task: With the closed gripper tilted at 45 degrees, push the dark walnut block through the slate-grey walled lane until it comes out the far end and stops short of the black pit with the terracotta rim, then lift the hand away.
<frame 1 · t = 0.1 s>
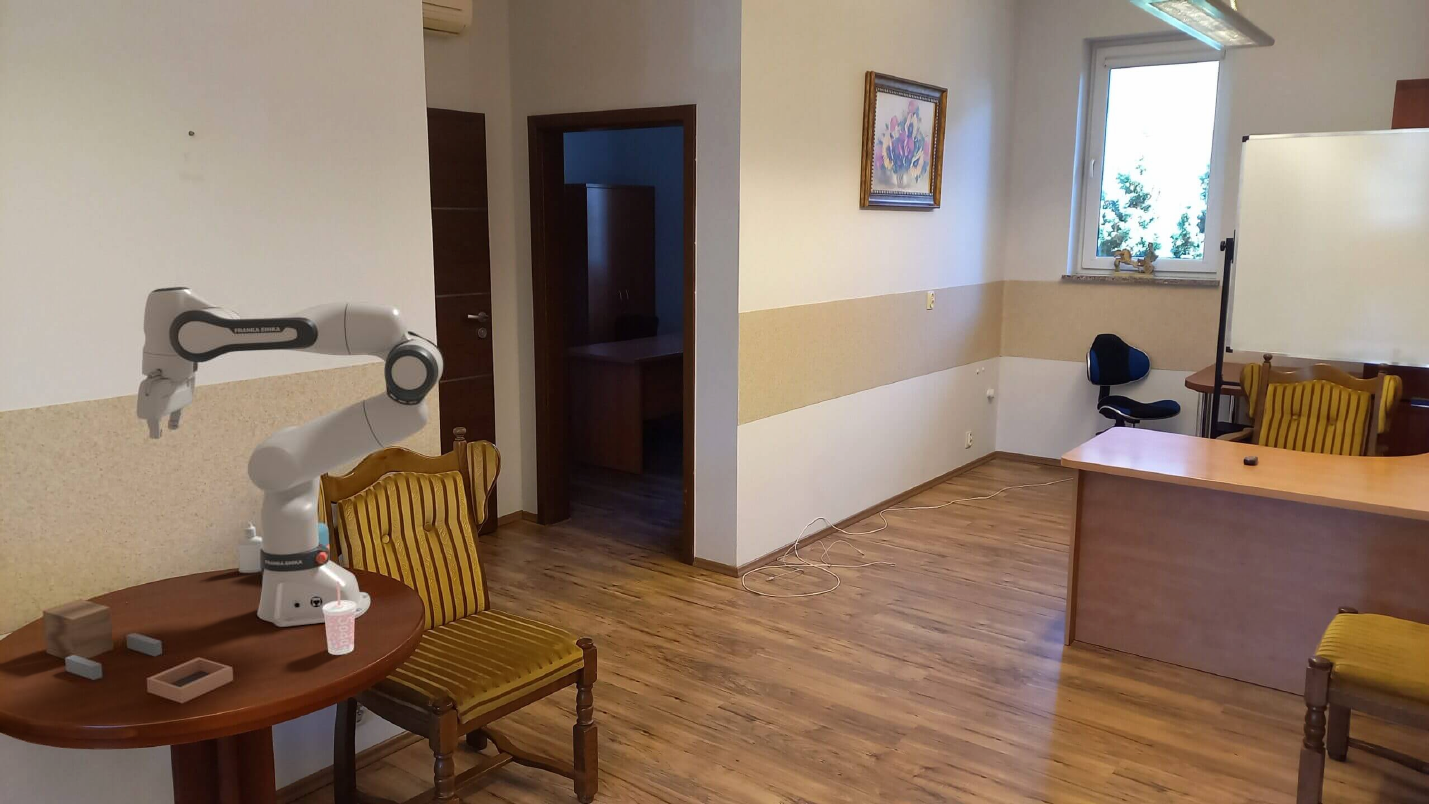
hand: (164, 433, 197), 39 cm above the table, tool pointing down, fingers open, 8 cm apart
walnut block: (80, 651, 185), on the table
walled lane: (115, 661, 181), on the table
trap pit: (191, 686, 172), on the table
data package: (303, 572, 231), on the table
beverage cup: (341, 650, 189), on the table
eye dropper bottle: (252, 571, 231), on the table
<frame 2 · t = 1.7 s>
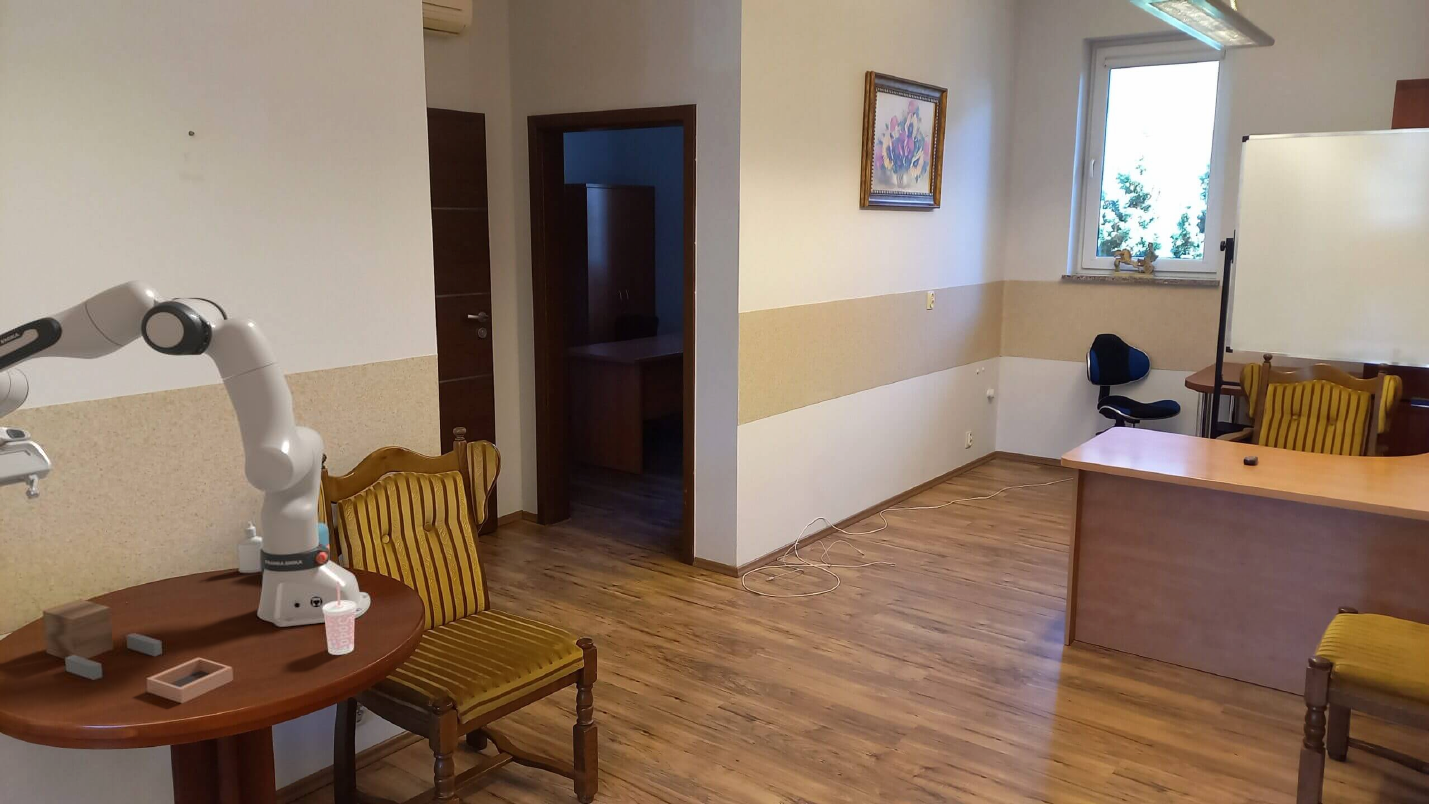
hand: (9, 502, 189), 27 cm above the table, tool tilted 45°, fingers open, 8 cm apart
nothing on the table moved.
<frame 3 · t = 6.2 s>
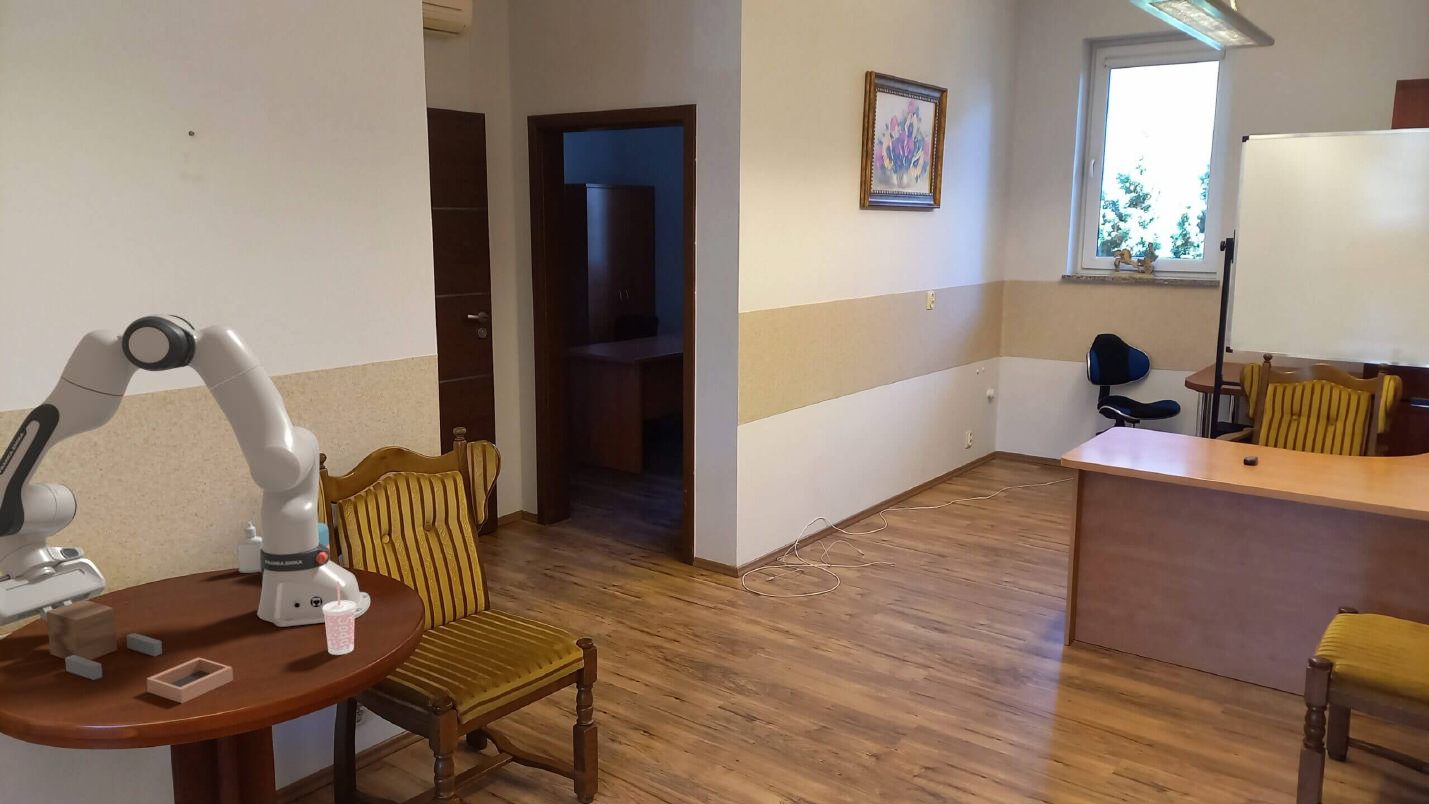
hand: (66, 625, 186), 4 cm above the table, tool tilted 45°, fingers closed, pressing on walnut block
walnut block: (84, 652, 185), on the table, touching gripper
everything else where it was.
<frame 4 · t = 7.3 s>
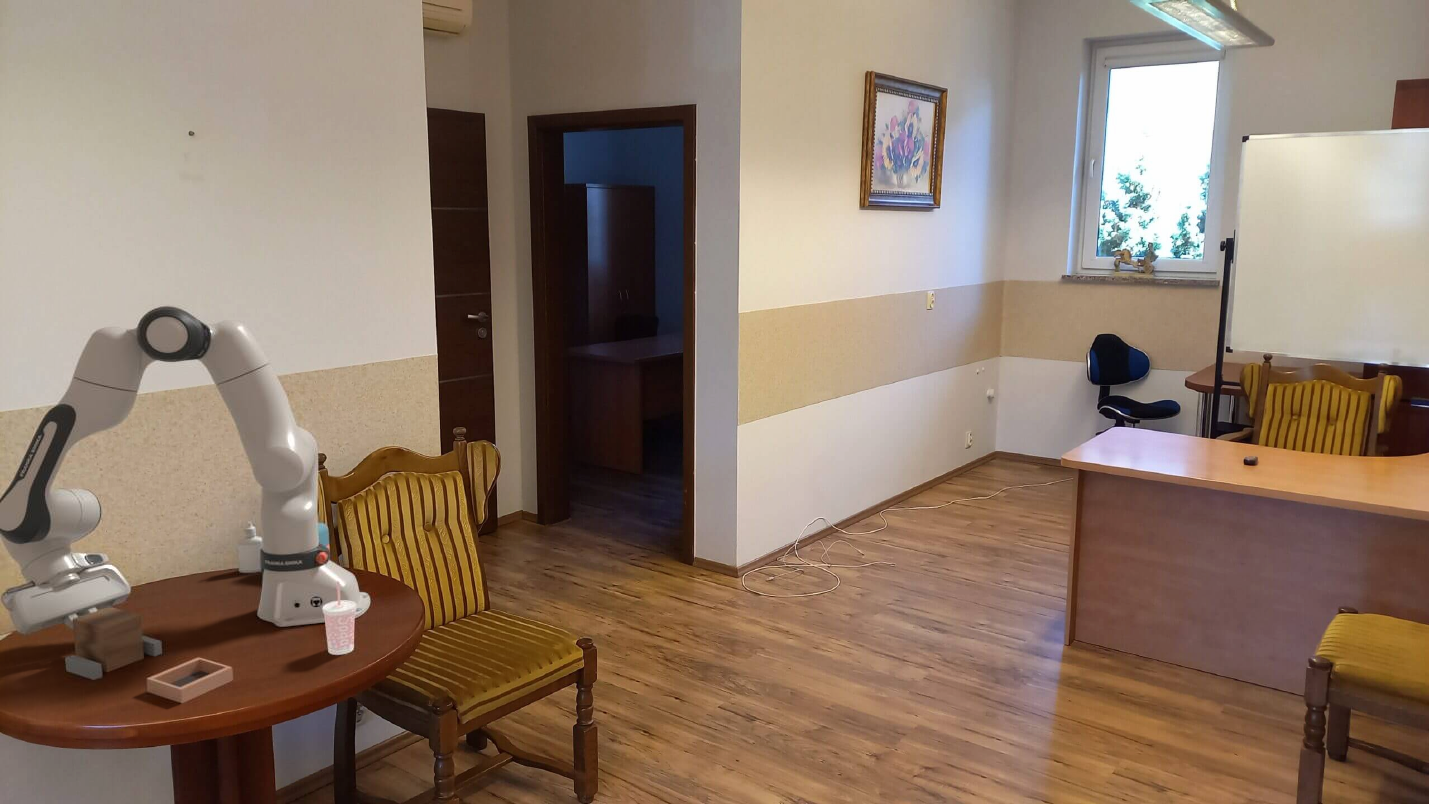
hand: (91, 633, 183), 4 cm above the table, tool tilted 45°, fingers closed, pressing on walnut block
walnut block: (110, 660, 182), on the table, touching gripper
everything else where it was.
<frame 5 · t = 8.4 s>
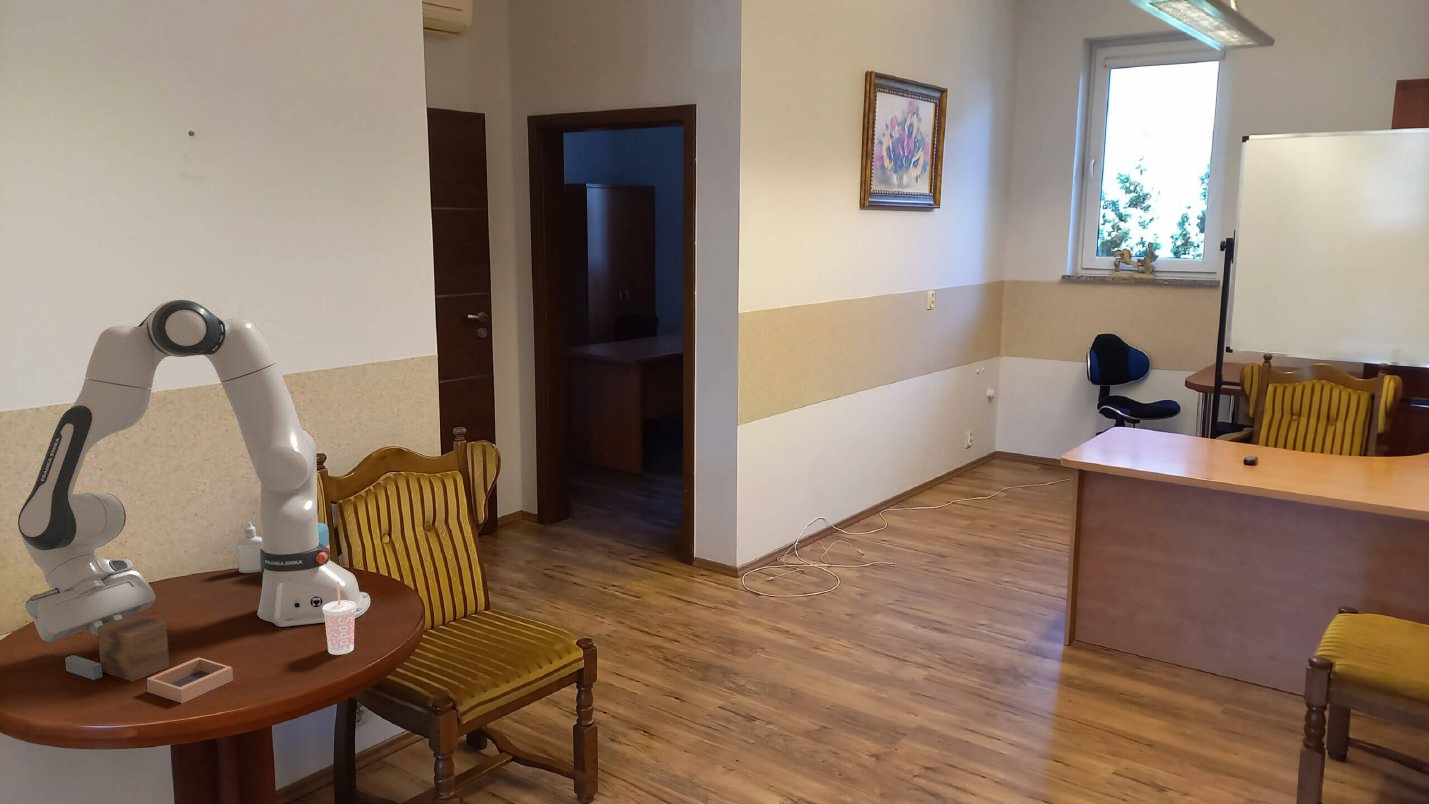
hand: (116, 641, 180), 4 cm above the table, tool tilted 45°, fingers closed, pressing on walnut block
walnut block: (135, 669, 178), on the table, touching gripper
everything else where it was.
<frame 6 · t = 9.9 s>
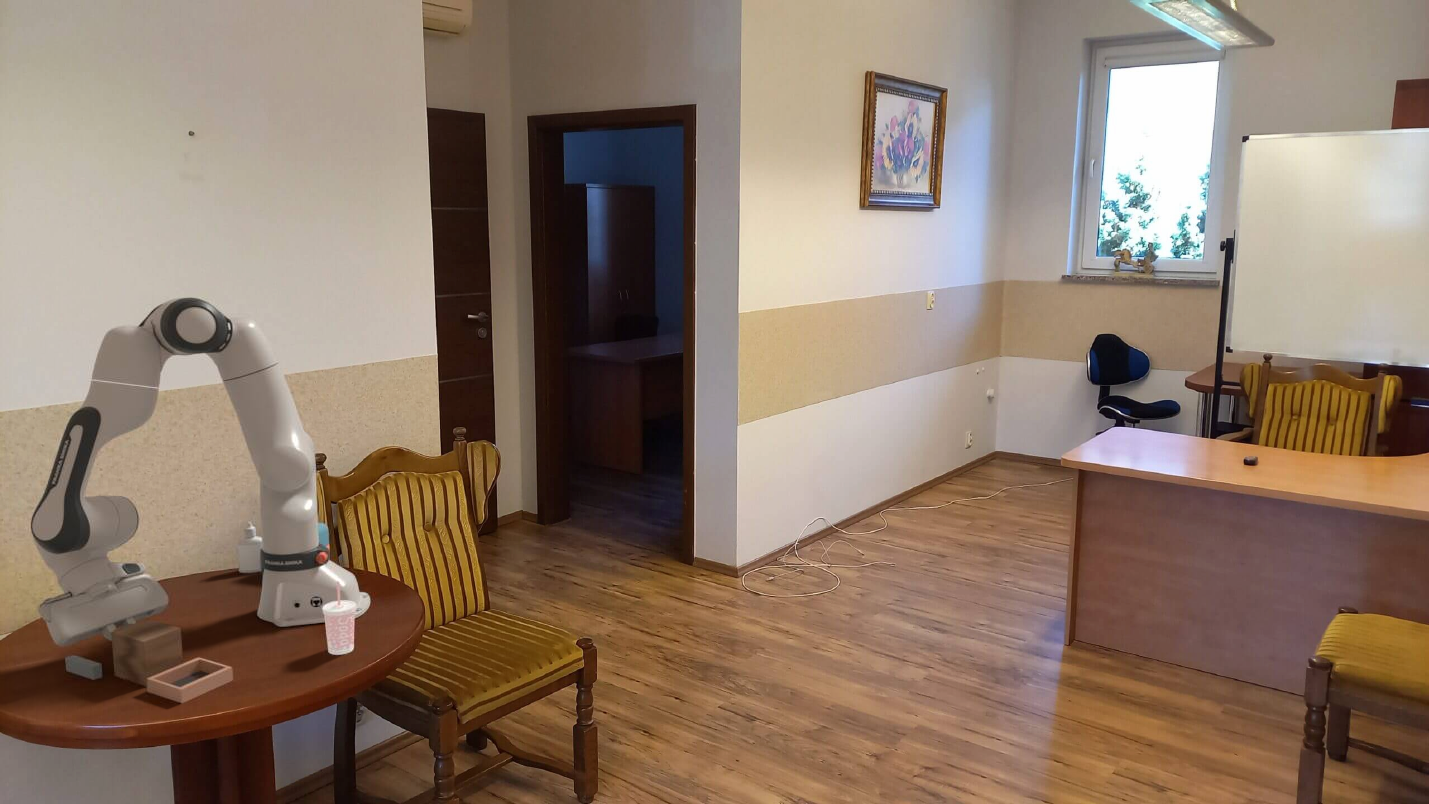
hand: (130, 645, 178), 4 cm above the table, tool tilted 45°, fingers closed, pressing on walnut block
walnut block: (149, 674, 177), on the table, touching gripper
everything else where it was.
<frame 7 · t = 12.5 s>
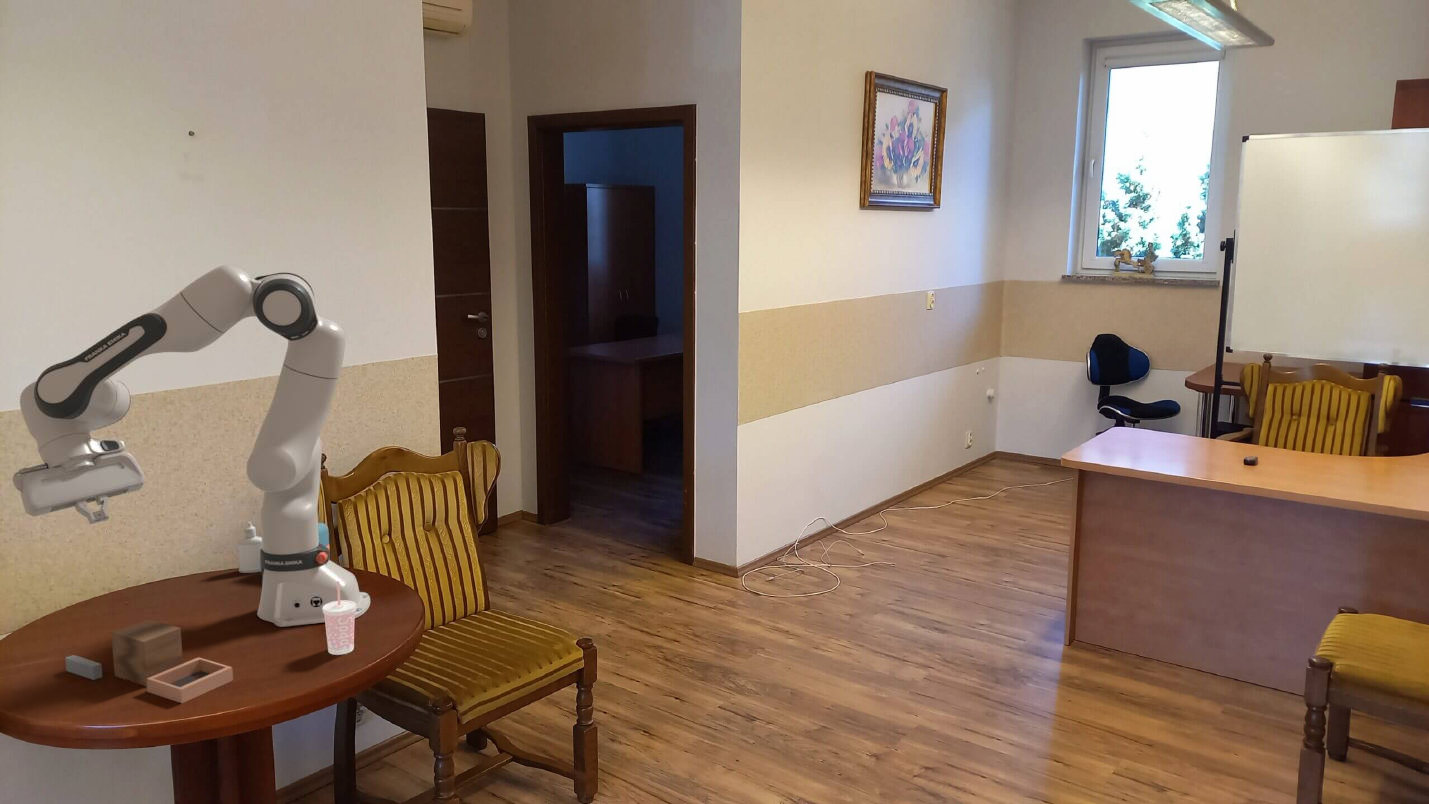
hand: (100, 521, 184), 25 cm above the table, tool tilted 35°, fingers closed
walnut block: (149, 674, 177), on the table
everything else where it was.
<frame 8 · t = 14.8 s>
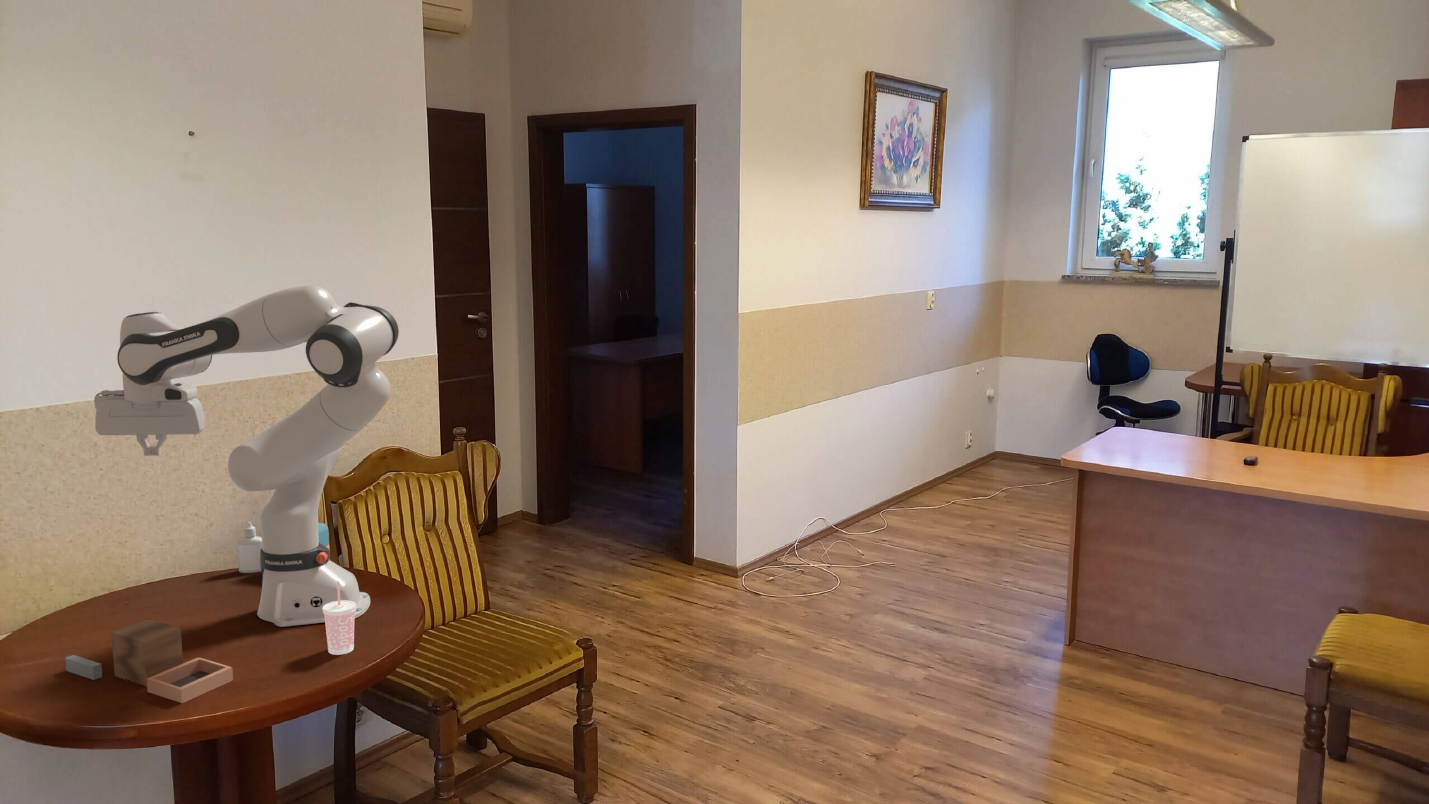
hand: (153, 455, 203), 33 cm above the table, tool pointing down, fingers closed
nothing on the table moved.
at the end: walnut block inside the target area on the table beside the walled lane (0.9 cm from its centre), on the table; walnut block tilted 0°; walnut block touching table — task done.
